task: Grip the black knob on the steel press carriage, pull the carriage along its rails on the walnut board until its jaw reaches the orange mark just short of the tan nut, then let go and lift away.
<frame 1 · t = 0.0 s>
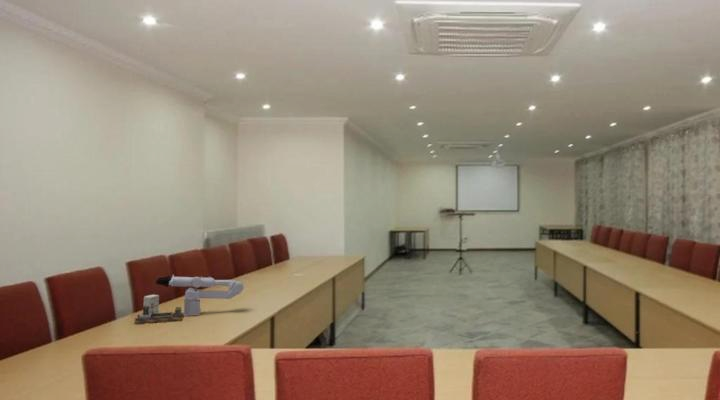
hand: (156, 280, 273), 22 cm above the table, fingers open, 7 cm apart
ink box: (151, 315, 278), on the table
carriage: (146, 312, 263), point 5 cm above the table, slide at 0.0 cm
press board: (159, 320, 265), on the table
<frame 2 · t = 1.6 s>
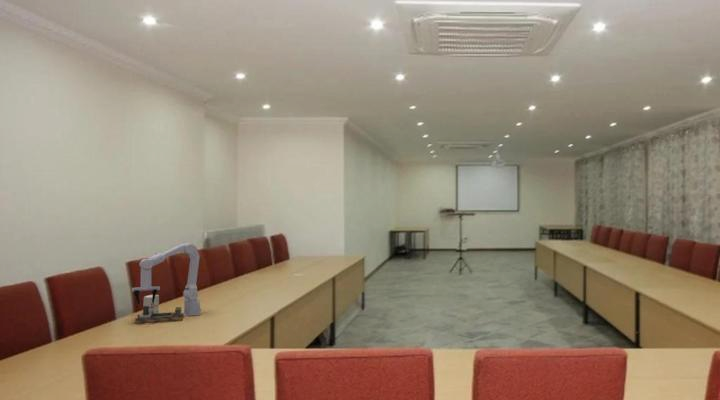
hand: (145, 303, 263), 10 cm above the table, fingers open, 7 cm apart
nothing on the table moved.
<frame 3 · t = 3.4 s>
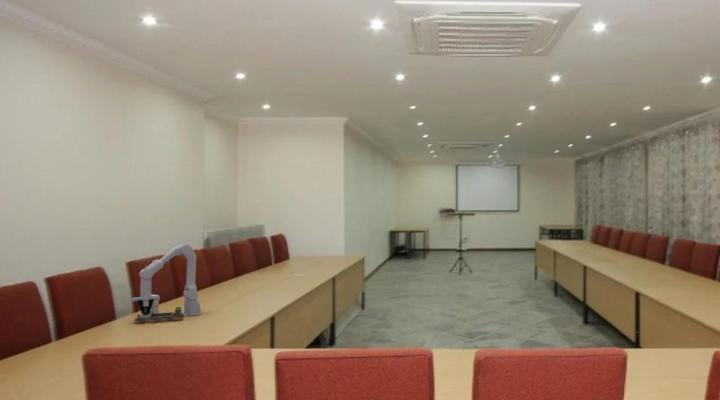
hand: (145, 313, 263), 5 cm above the table, fingers closed on carriage, 3 cm apart
carriage: (146, 312, 263), point 5 cm above the table, slide at 0.0 cm, touching gripper
everything else where it was.
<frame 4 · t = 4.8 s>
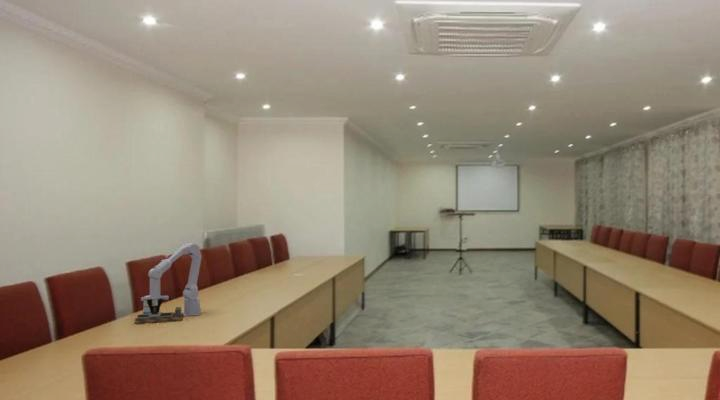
hand: (155, 312, 264), 5 cm above the table, fingers closed on carriage, 3 cm apart
carriage: (155, 311, 265), point 5 cm above the table, slide at 4.9 cm, touching gripper
everything else where it was.
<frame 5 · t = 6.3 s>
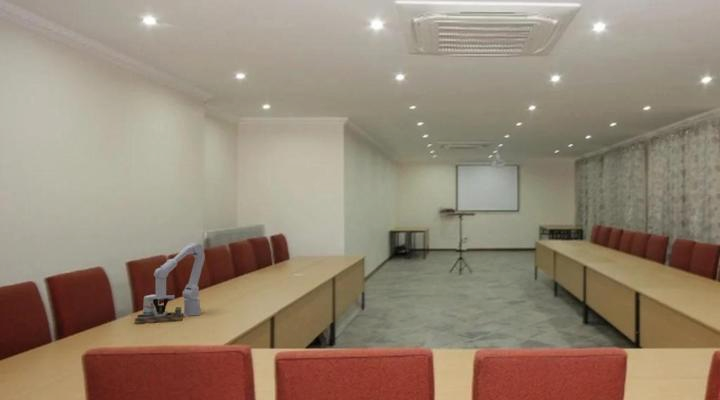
hand: (160, 311, 265), 5 cm above the table, fingers closed on carriage, 3 cm apart
carriage: (161, 311, 266), point 5 cm above the table, slide at 8.0 cm, touching gripper
everything else where it was.
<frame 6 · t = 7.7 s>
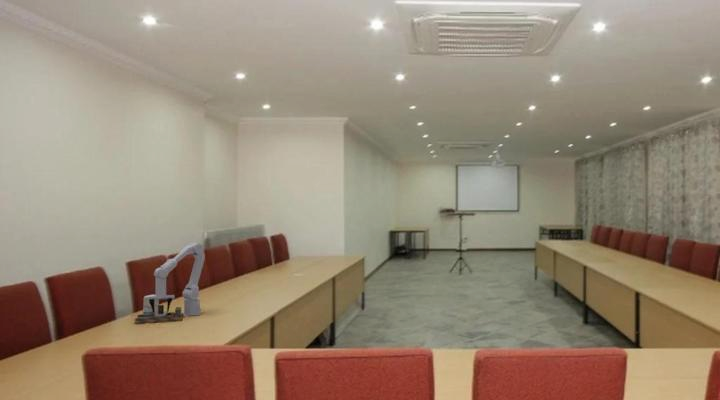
hand: (160, 311, 265), 5 cm above the table, fingers open, 7 cm apart
carriage: (161, 311, 266), point 5 cm above the table, slide at 8.0 cm
everything else where it was.
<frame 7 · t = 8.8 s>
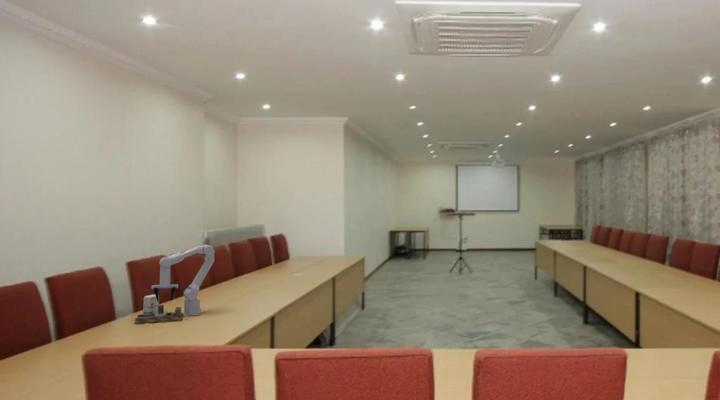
hand: (164, 300, 271), 10 cm above the table, fingers open, 7 cm apart
nothing on the table moved.
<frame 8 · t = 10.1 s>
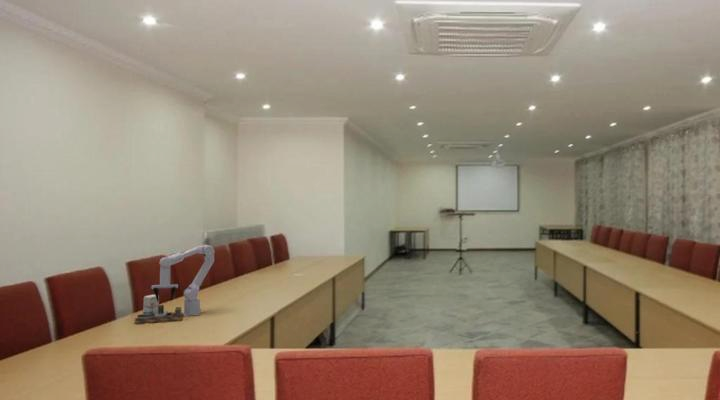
hand: (164, 300, 271), 10 cm above the table, fingers open, 7 cm apart
nothing on the table moved.
at the end: carriage slide at 8.0 cm; the gripper is holding nothing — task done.
